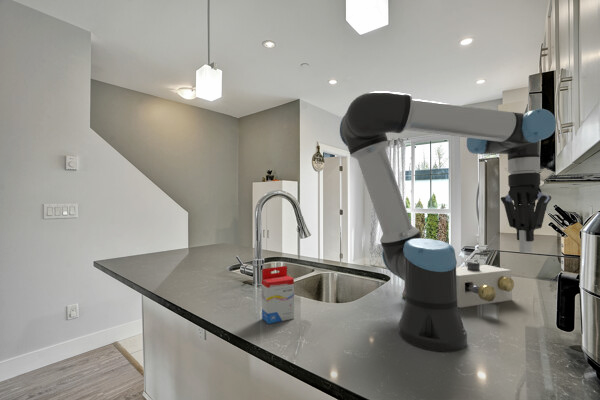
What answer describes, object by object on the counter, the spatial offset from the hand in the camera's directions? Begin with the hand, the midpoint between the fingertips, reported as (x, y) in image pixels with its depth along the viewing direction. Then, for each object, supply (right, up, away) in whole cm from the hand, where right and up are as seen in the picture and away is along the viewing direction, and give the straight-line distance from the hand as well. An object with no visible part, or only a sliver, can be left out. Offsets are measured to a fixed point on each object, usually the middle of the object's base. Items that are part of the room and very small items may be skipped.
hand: (525, 251), depth 82 cm
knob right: (-1, -14, +12) cm, 18 cm away
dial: (-8, -8, +12) cm, 17 cm away
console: (-8, -18, +12) cm, 23 cm away
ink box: (-74, -20, -1) cm, 76 cm away
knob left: (-13, -14, +3) cm, 19 cm away
